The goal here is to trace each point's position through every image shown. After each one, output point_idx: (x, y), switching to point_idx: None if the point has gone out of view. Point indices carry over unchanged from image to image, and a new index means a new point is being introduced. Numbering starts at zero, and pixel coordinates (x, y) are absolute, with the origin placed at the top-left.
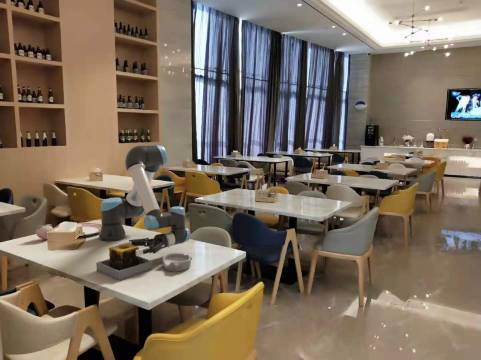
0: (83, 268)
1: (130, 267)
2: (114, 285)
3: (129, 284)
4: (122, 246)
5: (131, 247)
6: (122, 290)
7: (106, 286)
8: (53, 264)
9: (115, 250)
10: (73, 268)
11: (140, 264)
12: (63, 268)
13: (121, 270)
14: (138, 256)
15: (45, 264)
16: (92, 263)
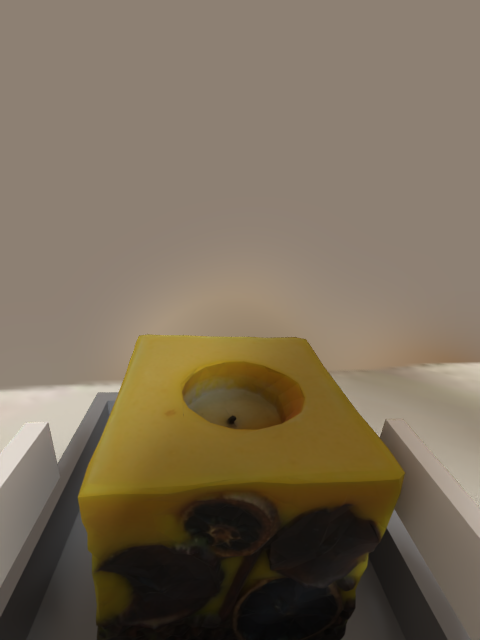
0: (381, 411)
1: (72, 461)
2: (85, 403)
3: (8, 442)
4: (298, 406)
5: (162, 422)
6: (9, 398)
7: (112, 385)
8: (471, 375)
9: (218, 340)
10: (397, 392)
11: (12, 566)
12: (409, 377)
13: (98, 407)
14: (99, 584)
15: (476, 364)
16: (458, 462)
